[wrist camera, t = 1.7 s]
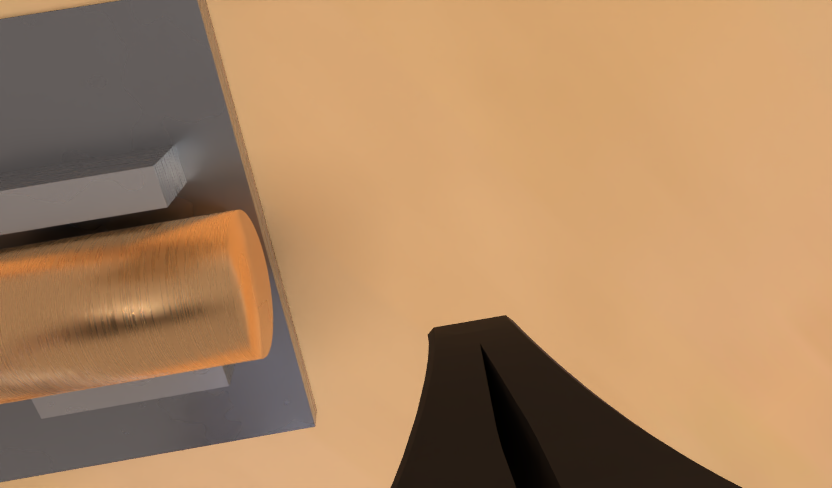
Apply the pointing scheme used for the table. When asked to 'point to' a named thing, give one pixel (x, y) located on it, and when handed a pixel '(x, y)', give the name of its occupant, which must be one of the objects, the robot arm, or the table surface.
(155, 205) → the firebox plate
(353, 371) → the table surface
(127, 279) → the copper tube
